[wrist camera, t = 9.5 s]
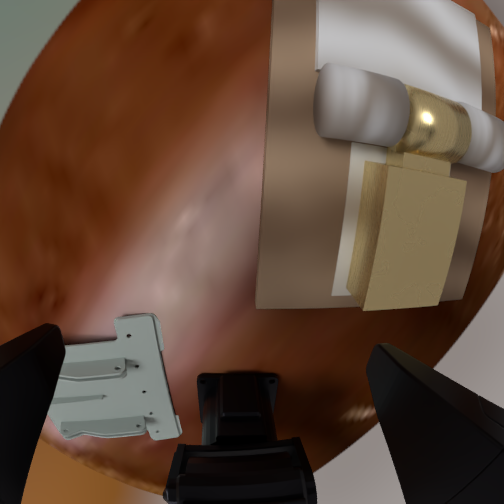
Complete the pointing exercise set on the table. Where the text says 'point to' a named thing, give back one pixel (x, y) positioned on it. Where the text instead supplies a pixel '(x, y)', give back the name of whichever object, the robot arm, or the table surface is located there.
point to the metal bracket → (116, 385)
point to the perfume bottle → (411, 209)
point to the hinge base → (324, 178)
